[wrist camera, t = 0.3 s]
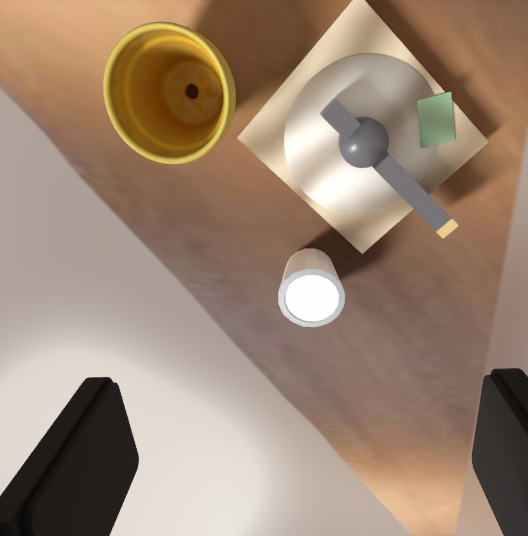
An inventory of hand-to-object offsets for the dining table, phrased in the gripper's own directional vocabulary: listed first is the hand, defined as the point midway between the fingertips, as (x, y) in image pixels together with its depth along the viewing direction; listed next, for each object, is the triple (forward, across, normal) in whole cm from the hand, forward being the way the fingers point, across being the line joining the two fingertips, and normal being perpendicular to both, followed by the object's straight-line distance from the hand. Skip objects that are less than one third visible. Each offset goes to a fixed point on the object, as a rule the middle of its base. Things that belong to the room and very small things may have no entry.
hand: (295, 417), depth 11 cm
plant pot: (+36, +10, -8) cm, 38 cm away
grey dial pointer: (+34, -9, 0) cm, 35 cm away
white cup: (+36, -1, +12) cm, 38 cm away
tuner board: (+36, -6, -2) cm, 36 cm away
